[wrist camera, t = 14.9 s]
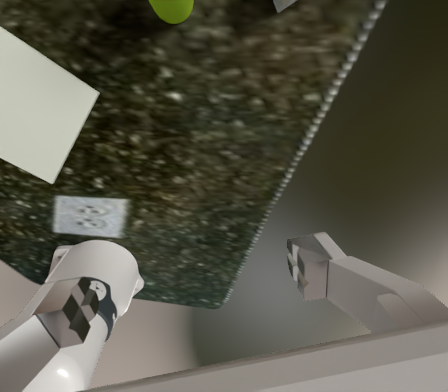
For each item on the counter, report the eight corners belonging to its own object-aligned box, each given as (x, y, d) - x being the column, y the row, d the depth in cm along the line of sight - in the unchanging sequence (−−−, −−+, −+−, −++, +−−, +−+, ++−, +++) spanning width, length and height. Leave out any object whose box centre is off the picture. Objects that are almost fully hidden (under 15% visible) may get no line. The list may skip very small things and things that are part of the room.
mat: (54, 182, 42) (52, 184, 41) (-69, 120, 36) (-73, 120, 36) (99, 92, 37) (98, 93, 36) (-35, 3, 31) (-39, 1, 30)
